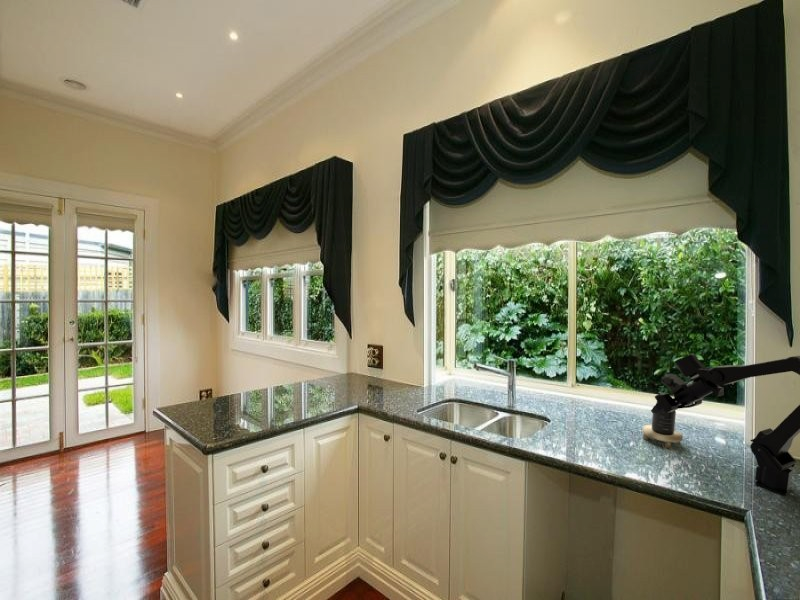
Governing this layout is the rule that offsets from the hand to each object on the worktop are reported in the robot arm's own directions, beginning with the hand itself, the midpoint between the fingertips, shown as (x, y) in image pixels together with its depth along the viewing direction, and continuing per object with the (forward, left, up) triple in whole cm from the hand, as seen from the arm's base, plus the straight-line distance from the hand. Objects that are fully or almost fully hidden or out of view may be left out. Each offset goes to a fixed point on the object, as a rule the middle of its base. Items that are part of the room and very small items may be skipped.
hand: (659, 410), depth 139 cm
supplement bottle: (-2, 0, -8) cm, 8 cm away
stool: (-1, 0, -11) cm, 11 cm away
